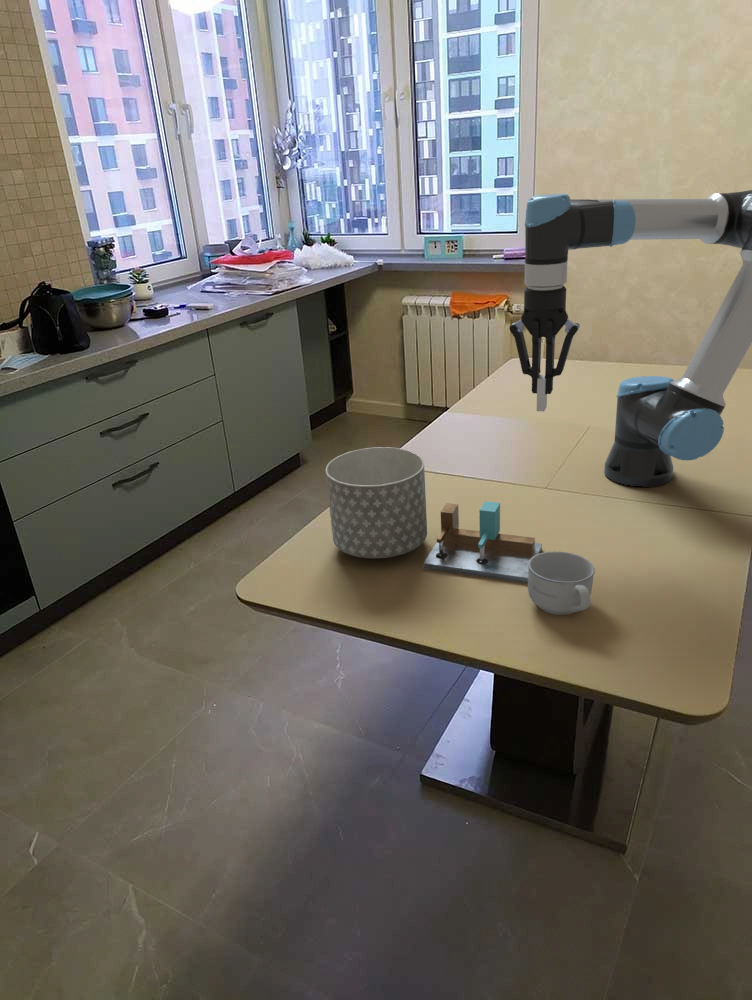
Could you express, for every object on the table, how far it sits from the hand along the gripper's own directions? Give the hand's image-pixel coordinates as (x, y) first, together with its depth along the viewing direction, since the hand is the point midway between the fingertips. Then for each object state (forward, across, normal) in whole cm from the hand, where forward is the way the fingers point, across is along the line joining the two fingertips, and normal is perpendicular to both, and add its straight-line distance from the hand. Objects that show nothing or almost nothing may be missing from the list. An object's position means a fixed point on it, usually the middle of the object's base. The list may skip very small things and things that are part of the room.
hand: (541, 409), depth 142 cm
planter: (+25, +28, +20) cm, 42 cm away
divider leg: (+23, +6, +19) cm, 30 cm away
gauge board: (+24, +7, +19) cm, 32 cm away
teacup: (+25, -10, +32) cm, 42 cm away
